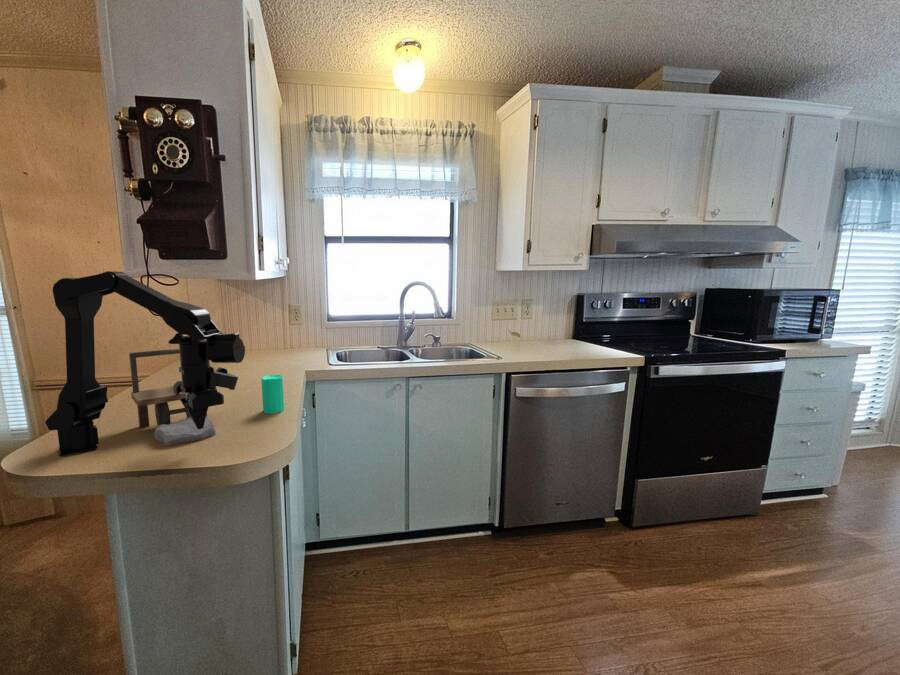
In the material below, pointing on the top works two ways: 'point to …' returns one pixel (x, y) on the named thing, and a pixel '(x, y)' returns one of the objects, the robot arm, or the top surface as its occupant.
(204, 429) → the stone block
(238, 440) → the top surface
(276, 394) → the candle
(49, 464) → the top surface
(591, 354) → the top surface
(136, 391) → the wooden chair
